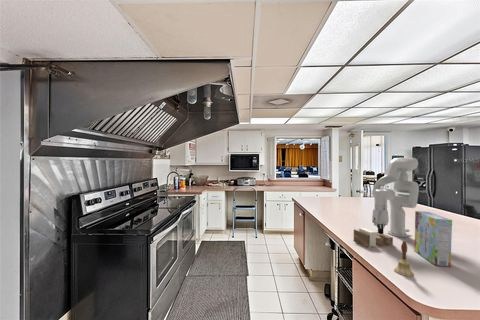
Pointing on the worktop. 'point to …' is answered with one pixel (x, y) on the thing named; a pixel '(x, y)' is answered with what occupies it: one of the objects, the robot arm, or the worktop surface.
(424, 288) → the worktop surface
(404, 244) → the hand bell
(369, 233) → the carton
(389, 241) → the podium
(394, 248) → the worktop surface
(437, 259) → the snack box
